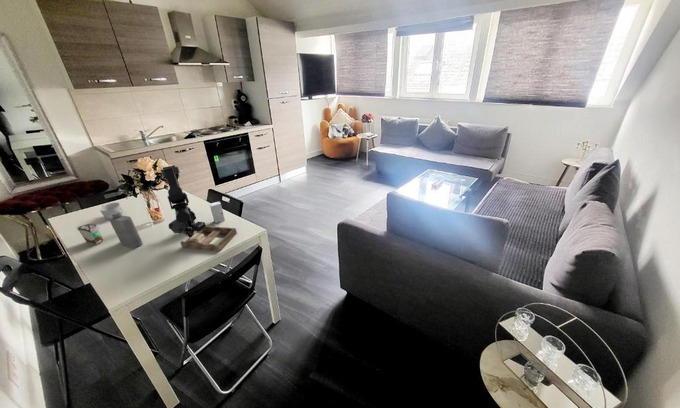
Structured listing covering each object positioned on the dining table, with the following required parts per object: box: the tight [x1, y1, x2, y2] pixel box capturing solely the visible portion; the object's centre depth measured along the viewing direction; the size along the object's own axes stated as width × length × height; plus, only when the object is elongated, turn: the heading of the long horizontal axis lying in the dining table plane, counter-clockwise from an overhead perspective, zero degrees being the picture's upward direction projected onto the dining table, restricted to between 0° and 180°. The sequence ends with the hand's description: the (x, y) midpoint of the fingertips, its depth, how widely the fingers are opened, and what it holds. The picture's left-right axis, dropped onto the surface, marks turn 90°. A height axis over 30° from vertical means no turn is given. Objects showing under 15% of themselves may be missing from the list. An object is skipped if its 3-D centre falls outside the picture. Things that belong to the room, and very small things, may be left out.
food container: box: [76, 223, 104, 246], centre depth 150 cm, size 12×6×10 cm, turn 71°
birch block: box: [190, 232, 205, 243], centre depth 145 cm, size 5×5×3 cm
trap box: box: [180, 225, 238, 252], centre depth 148 cm, size 23×17×4 cm
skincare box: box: [209, 201, 226, 224], centre depth 165 cm, size 6×4×12 cm
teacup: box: [99, 201, 124, 219], centre depth 176 cm, size 14×11×8 cm
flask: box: [107, 212, 144, 249], centre depth 144 cm, size 15×6×20 cm, turn 66°
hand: (191, 238), depth 145 cm, fingers closed
